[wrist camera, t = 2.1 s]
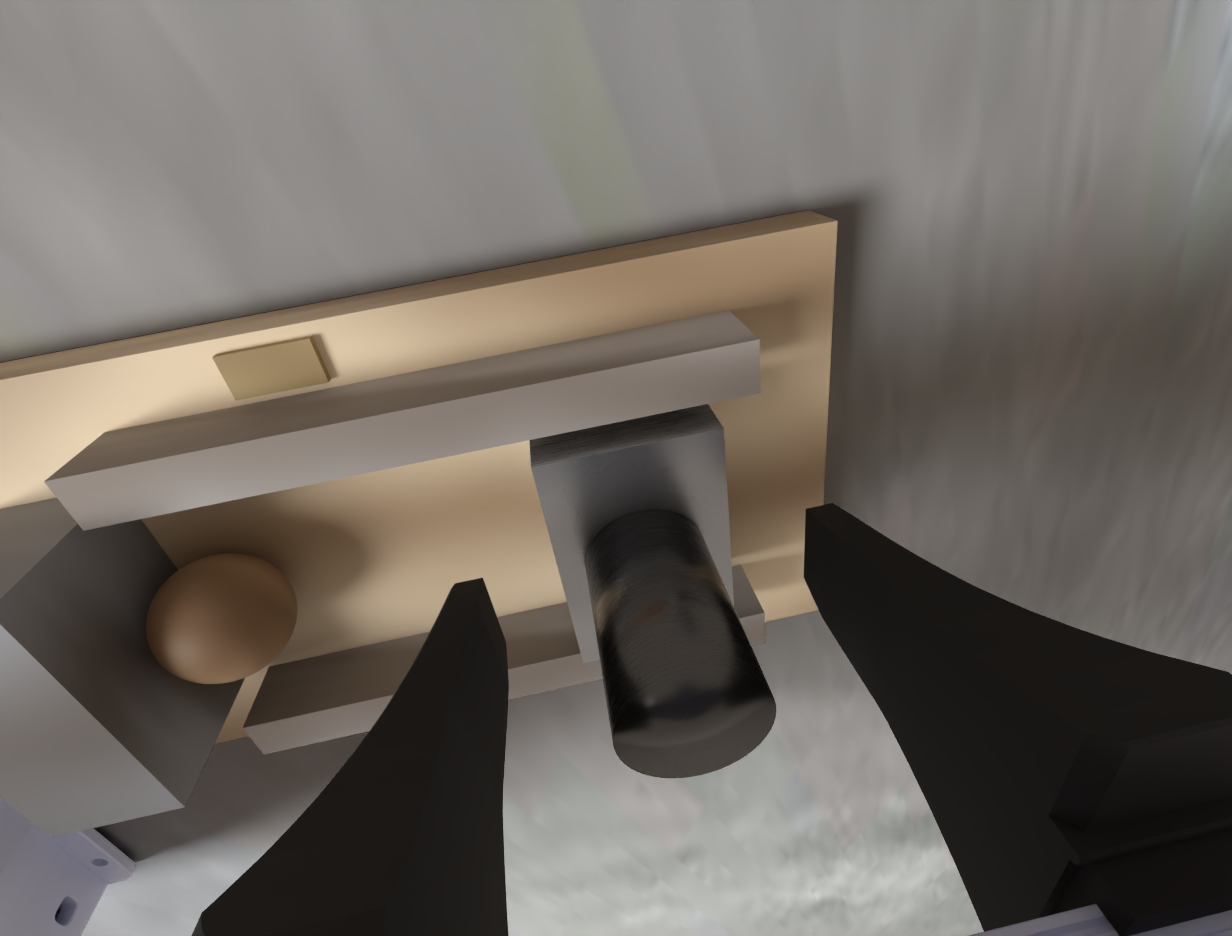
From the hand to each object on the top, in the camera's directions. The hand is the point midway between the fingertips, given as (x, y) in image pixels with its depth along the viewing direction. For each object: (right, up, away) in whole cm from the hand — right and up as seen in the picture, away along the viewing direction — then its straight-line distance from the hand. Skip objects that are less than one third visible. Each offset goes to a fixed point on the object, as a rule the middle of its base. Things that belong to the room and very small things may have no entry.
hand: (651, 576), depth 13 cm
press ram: (0, +2, +3) cm, 3 cm away
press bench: (-6, +1, +4) cm, 7 cm away
